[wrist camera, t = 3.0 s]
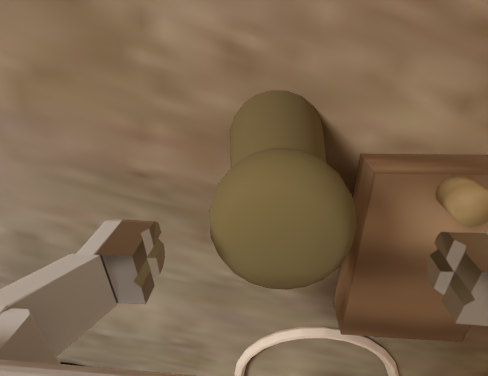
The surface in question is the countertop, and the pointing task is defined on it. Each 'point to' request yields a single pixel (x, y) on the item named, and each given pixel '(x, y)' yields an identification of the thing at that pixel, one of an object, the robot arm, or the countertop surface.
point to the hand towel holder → (314, 333)
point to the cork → (281, 197)
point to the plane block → (406, 242)
